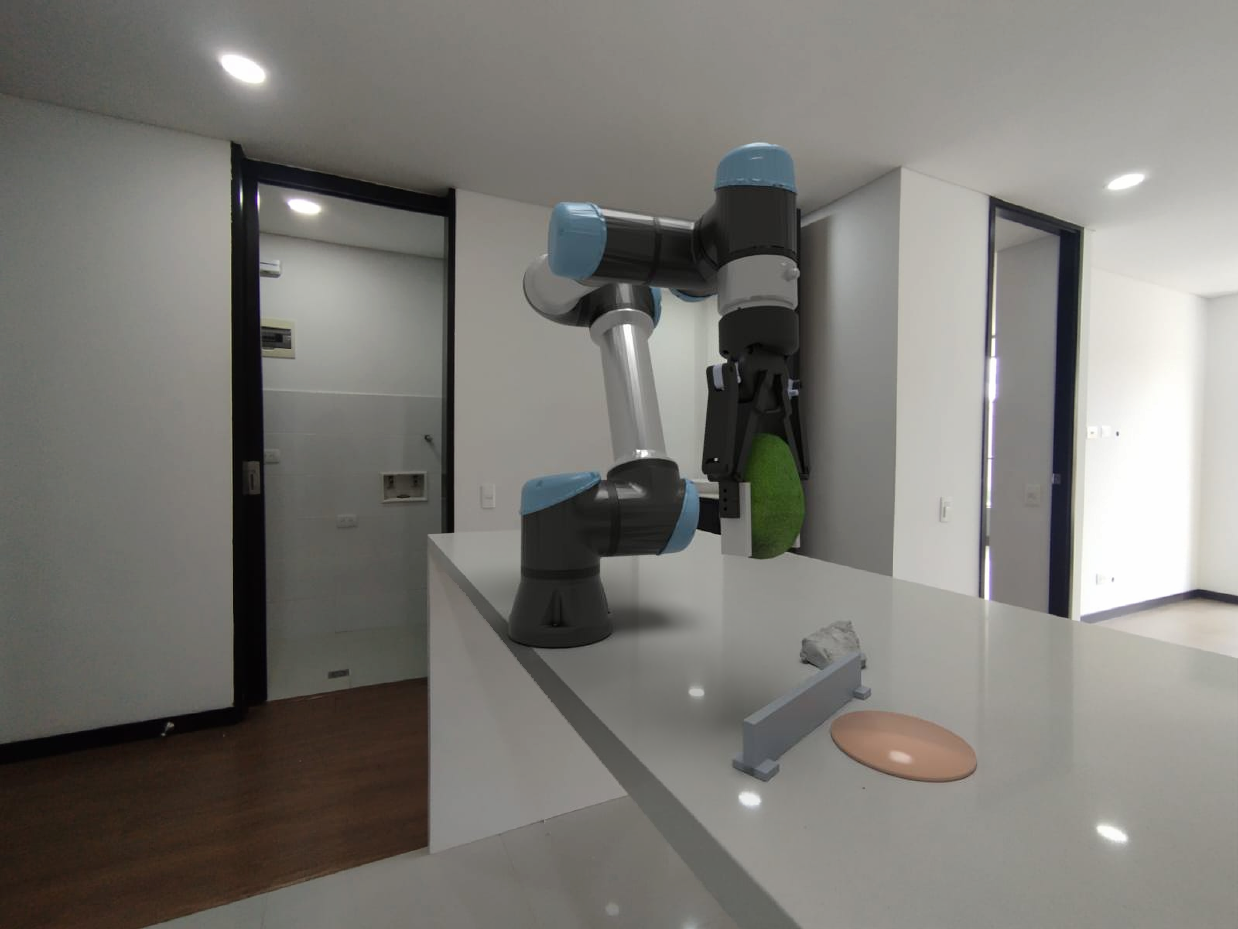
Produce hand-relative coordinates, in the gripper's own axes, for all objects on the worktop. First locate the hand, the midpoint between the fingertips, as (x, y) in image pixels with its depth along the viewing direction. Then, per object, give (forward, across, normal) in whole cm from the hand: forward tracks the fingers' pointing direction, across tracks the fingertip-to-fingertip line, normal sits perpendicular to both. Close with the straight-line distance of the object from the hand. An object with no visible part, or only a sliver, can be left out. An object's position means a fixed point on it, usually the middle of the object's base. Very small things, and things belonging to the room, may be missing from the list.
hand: (762, 550), depth 51 cm
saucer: (+16, +5, -10) cm, 20 cm away
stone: (+16, +21, +2) cm, 27 cm away
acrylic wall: (+16, +2, -3) cm, 17 cm away
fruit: (+1, 0, 0) cm, 1 cm away
